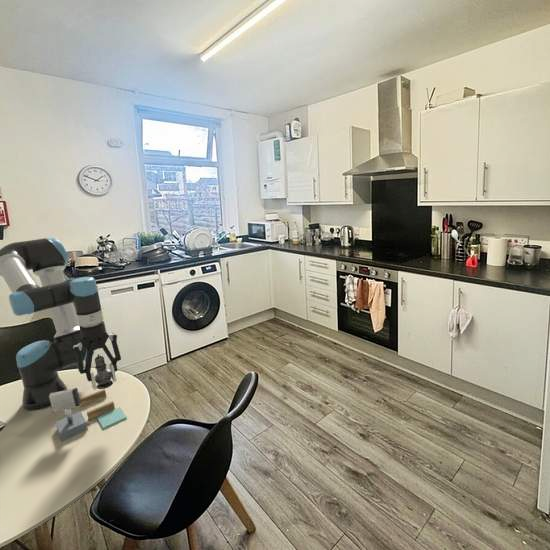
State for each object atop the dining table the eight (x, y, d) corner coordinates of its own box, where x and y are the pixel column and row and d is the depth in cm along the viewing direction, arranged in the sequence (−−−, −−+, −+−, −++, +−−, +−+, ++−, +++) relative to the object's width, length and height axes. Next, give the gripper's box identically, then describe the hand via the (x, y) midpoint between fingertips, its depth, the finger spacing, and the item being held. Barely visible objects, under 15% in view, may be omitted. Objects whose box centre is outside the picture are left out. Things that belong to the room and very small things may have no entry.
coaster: (97, 418, 124) (96, 417, 124) (119, 408, 129) (119, 407, 129) (103, 429, 118) (102, 427, 118) (126, 418, 123) (126, 416, 123)
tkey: (56, 425, 116) (48, 396, 113) (58, 421, 118) (50, 393, 115) (82, 419, 118) (75, 390, 115) (84, 416, 120) (77, 387, 117)
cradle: (81, 405, 132) (79, 398, 131) (105, 395, 138) (104, 388, 137) (89, 420, 123) (87, 413, 122) (115, 409, 128) (113, 402, 128)
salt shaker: (106, 390, 116) (99, 358, 113) (91, 389, 117) (84, 358, 114) (117, 380, 122) (111, 350, 119) (103, 379, 123) (96, 349, 120)
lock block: (57, 429, 119) (55, 421, 119) (82, 418, 124) (80, 411, 123) (61, 441, 113) (59, 433, 113) (87, 429, 118) (86, 421, 118)
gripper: (61, 335, 105) (77, 400, 111) (124, 317, 117) (135, 377, 123) (57, 328, 110) (72, 391, 116) (117, 312, 122) (128, 369, 128)
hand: (104, 383), depth 120 cm, fingers closed on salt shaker, 6 cm apart
